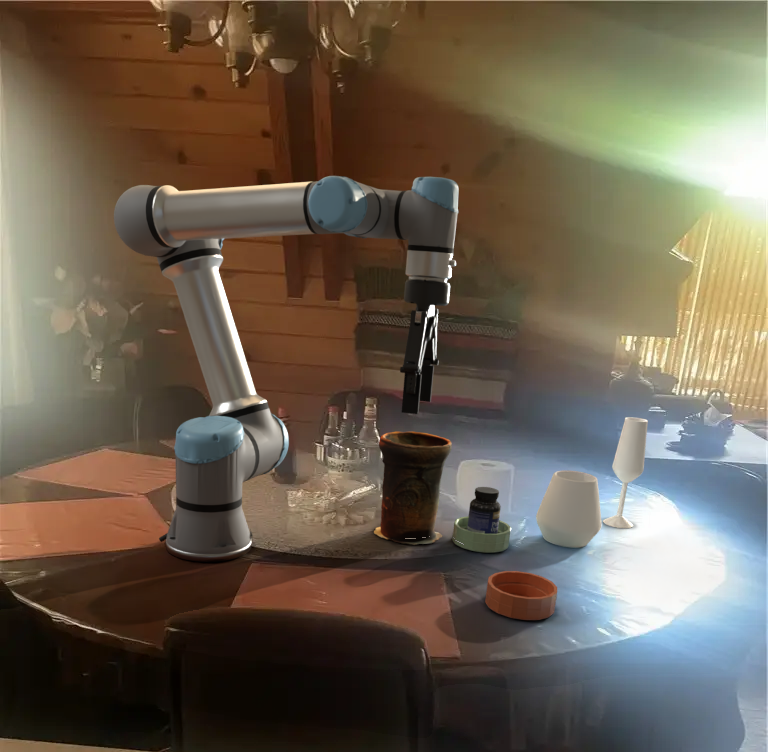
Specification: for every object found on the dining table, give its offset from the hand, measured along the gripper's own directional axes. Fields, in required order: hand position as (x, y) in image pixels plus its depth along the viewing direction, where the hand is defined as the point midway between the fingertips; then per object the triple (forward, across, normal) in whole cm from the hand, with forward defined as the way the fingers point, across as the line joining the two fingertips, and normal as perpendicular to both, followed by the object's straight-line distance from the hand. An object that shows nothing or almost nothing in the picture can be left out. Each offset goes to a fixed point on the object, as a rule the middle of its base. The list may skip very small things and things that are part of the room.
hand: (416, 406), depth 132 cm
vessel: (+29, +15, +2) cm, 33 cm away
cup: (+29, +25, -30) cm, 49 cm away
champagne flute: (+29, +42, -42) cm, 66 cm away
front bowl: (+29, -13, -22) cm, 38 cm away
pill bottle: (+29, +15, -13) cm, 35 cm away
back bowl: (+29, +15, -13) cm, 35 cm away
